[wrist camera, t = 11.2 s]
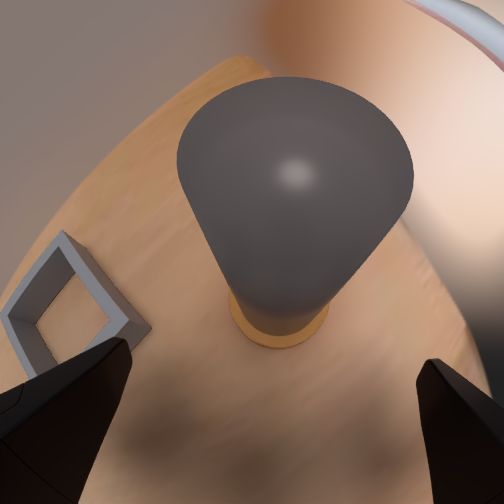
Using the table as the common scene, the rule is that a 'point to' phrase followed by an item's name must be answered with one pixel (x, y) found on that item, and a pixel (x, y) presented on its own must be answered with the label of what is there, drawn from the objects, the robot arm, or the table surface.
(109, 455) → the table surface
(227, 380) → the table surface
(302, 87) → the plug
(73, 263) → the socket
